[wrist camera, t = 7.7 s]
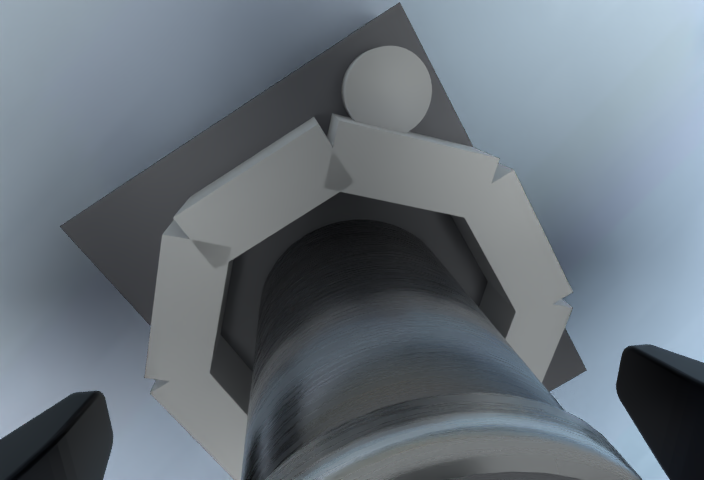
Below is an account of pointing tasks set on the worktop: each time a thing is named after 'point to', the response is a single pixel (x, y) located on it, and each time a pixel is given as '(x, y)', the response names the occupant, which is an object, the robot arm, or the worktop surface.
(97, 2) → the worktop surface
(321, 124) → the camera body mount
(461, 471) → the lens
